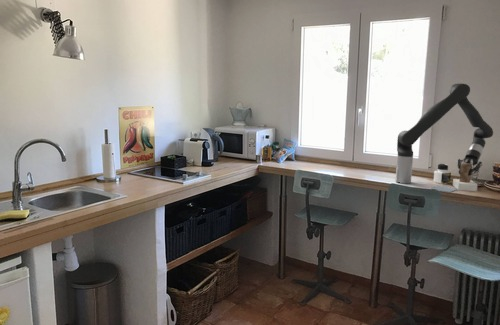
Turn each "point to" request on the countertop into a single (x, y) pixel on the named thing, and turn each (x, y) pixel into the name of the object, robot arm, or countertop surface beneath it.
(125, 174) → the countertop surface
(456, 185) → the shelf riser
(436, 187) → the slate mat
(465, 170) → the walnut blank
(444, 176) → the medicine bottle
